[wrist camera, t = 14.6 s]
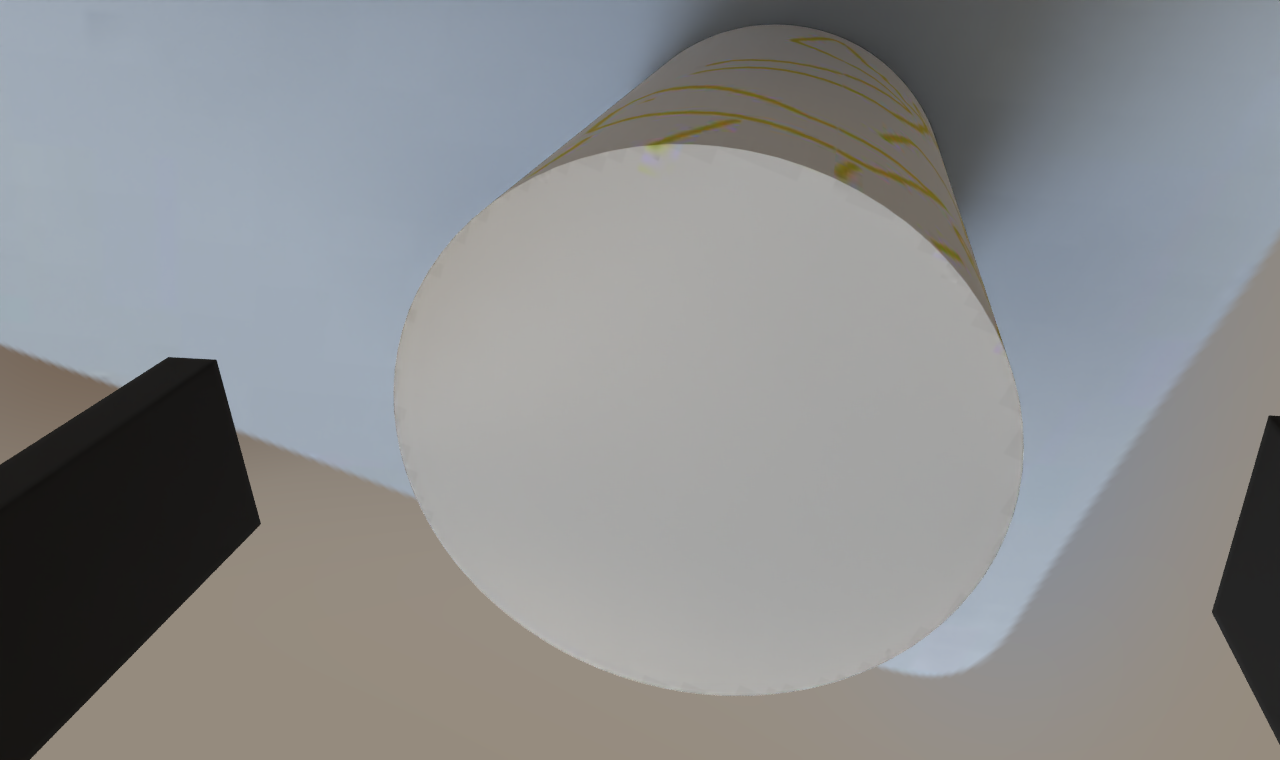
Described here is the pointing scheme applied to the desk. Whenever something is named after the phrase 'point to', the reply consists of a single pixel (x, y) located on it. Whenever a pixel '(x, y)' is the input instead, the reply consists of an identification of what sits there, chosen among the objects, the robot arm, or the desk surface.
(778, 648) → the cream cylinder
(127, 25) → the desk surface
